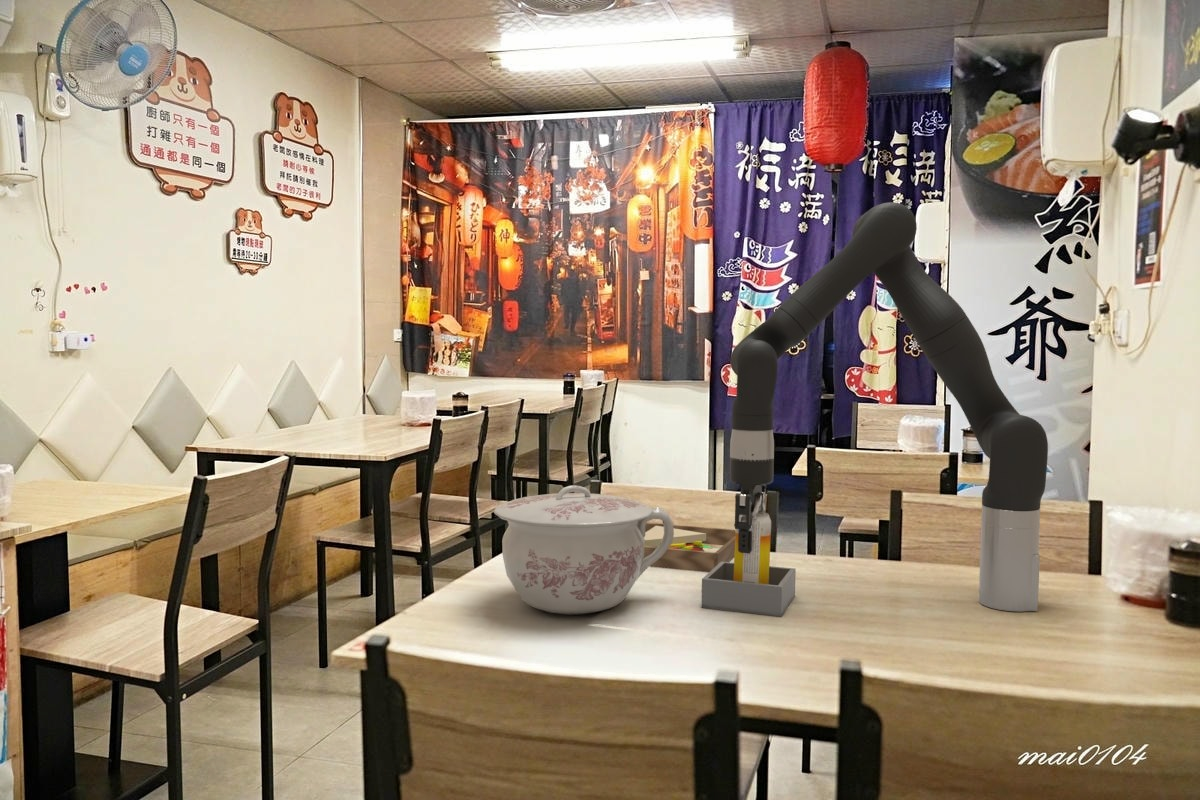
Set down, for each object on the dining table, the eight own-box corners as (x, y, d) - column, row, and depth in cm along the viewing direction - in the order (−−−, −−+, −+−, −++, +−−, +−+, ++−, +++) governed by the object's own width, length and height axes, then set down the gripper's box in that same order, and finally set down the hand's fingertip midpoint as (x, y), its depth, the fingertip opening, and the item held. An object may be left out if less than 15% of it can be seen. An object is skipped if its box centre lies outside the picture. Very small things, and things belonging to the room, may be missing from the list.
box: (795, 596, 166) (795, 568, 165) (781, 616, 153) (781, 587, 153) (720, 588, 171) (721, 561, 170) (701, 607, 158) (701, 578, 158)
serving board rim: (744, 548, 204) (745, 530, 203) (717, 573, 181) (718, 553, 181) (641, 539, 212) (641, 522, 212) (603, 562, 190) (603, 543, 190)
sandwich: (598, 556, 197) (598, 532, 197) (667, 544, 209) (667, 522, 209) (644, 570, 185) (644, 546, 185) (715, 557, 197) (715, 534, 197)
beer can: (766, 594, 165) (769, 511, 164) (769, 604, 159) (773, 517, 158) (732, 592, 165) (735, 509, 164) (733, 602, 159) (737, 516, 158)
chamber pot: (461, 613, 154) (460, 490, 153) (546, 576, 179) (546, 470, 177) (610, 639, 141) (611, 504, 140) (680, 595, 166) (681, 481, 164)
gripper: (765, 461, 152) (763, 558, 153) (781, 451, 166) (779, 541, 167) (720, 458, 155) (719, 554, 156) (739, 449, 168) (738, 538, 169)
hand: (750, 547), depth 161 cm, fingers open, 8 cm apart
